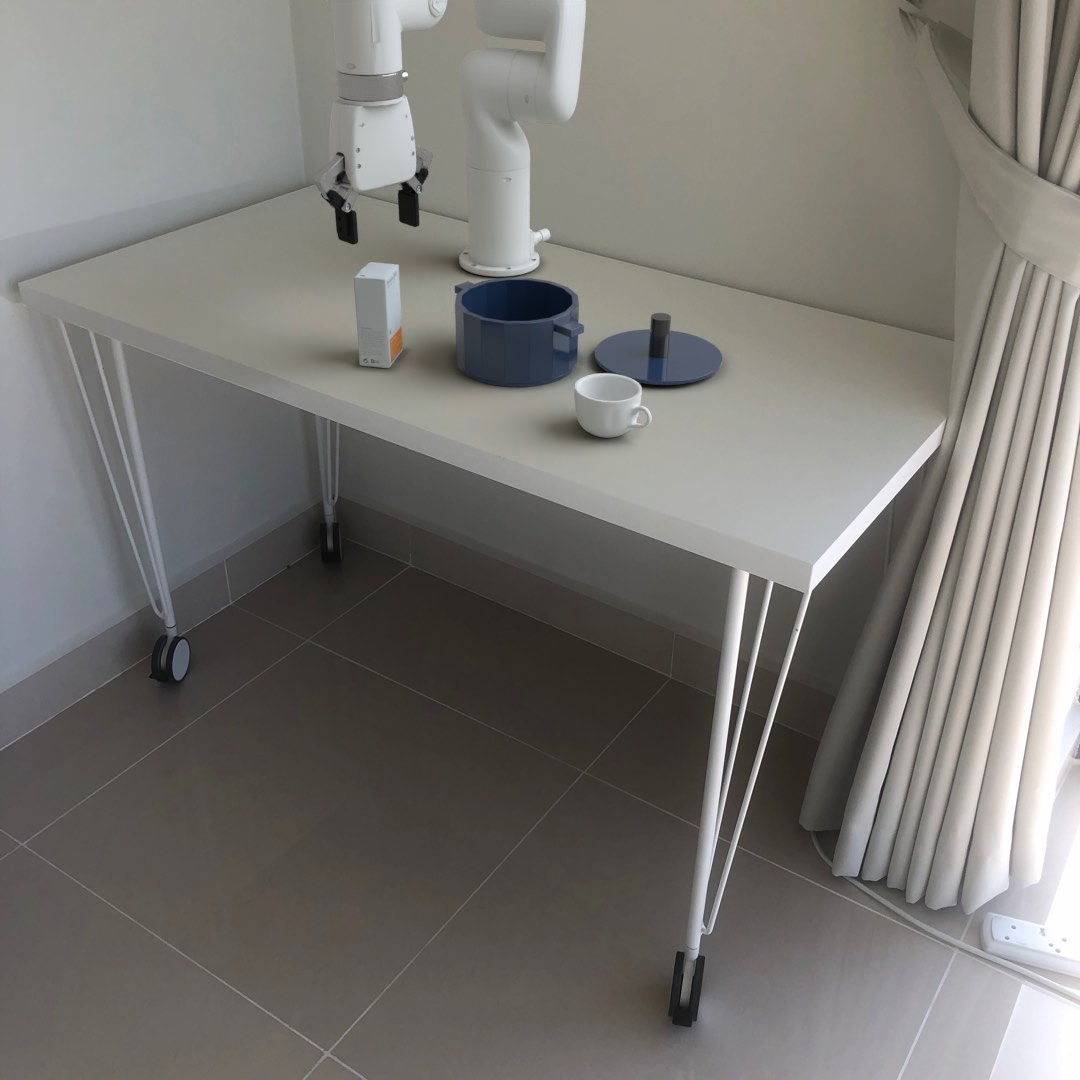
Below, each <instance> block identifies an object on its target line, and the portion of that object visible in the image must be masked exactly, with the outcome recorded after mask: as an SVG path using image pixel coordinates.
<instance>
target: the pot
mask: <svg viewBox="0 0 1080 1080" xmlns="http://www.w3.org/2000/svg"><path fill="white" fill-rule="evenodd" d="M454 293H455V294H456V295H455V299H454V300H455V301H454V315H455V316H454V318H455V347H456V348H455V350H456V352H455V353H456V364H457V366H458V368H459V370H460V371H461V372H462V373H463V375H466V376H467V377H468V378H471V379H472V380H475V381H478V382H481V383H483V384H487V385H492V386H498V387H508V388H526V387H527V388H528V387H536V386H543V385H547V384H551V383H554V382H557V381H560V380H562V379H564V378H566V377H567V376H569V375H570V374H572V373H573V372H574V370H575V369H576V367H577V365H578V354H579V353H578V351H579V350H578V349H579V335H581V334H584V333H585V324H582V323H579V319H580V318H579V317H580V316H579V315H580V308H579V307H580V301H579V295H578V294H577V293H575V292H574V290H572V289H571V288H570V287H568V286H565V285H563V284H560V283H557V282H555V281H552V280H547V279H539V278H533V277H499V278H494V279H488V280H487V279H486V280H481V281H479V282H476V283H473V282H471V281H468V280H467V281H465V282H461V283H458V284H456V285H454Z"/></svg>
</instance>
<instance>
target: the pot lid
mask: <svg viewBox="0 0 1080 1080" xmlns="http://www.w3.org/2000/svg"><path fill="white" fill-rule="evenodd" d="M649 322H650V324H649V328H646V329H634V330H627V331H623V332H619V333H615V334H613V335H610V336H608V337H606V338H604V339H603V340H601V341H600V342H599V343H598V344H597V346H596V347H595V349H594V359H595V362H596V363H597V365H598V366H599V367H600V368H601V369H602V370H604V371H605V372H606V373H610V374H618V375H623V376H626V377H629V378H631V379H633V380H635V381H637V382H638V383H639V384H646V385H655V386H656V385H657V386H674V385H684V384H691V383H694V382H698V381H702V380H705V379H707V378H709V377H711V376H713V375H714V374H717V372H718V371H719V370H720V369H721V367H722V364H723V354H722V352H721V350H720V349H719V348H718V347H717V346H716V344H713V343H712V342H710V341H708V340H707V339H704V338H702V337H700V336H697V335H694V334H691V333H688V332H687V333H686V332H682V331H677V330H672V329H671V326H672V316H671V315H670V314H669V313H665V312H656V313H655V312H654V313H652V314H651V315H650V321H649Z"/></svg>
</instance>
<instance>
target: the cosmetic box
mask: <svg viewBox="0 0 1080 1080" xmlns="http://www.w3.org/2000/svg"><path fill="white" fill-rule="evenodd" d="M353 289H354V302H355V318H356V330H357V346H358V360H359V362H358V363H359V366H362V367H372V368H380V369H381V368H382V369H391V367H392V365H393V364H394V363H395V361H396V360H397V358H399V356H400V355H401V354H402V353H403V351H404V347H403V345H404V344H403V326H402V325H403V324H402V323H403V322H402V302H401V282H400V265H399V264H398V263H397V264H396V263H394V264H393V263H384V262H374V261H369V262H368V263H367V264H365V266H364V267H362V268H361V269H359V271H358V272H357V274H356V275H355V276H354V277H353Z"/></svg>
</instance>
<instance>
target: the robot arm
mask: <svg viewBox="0 0 1080 1080" xmlns="http://www.w3.org/2000/svg"><path fill="white" fill-rule="evenodd" d="M324 1H325V5H326V7H327V10H328V11H329V13H330V14H331V18H332V30H333V44H334V57H335V58H334V59H335V69H336V85H337V96H338V97H337V98H338V99H335V100H333V101H332V104H331V110H330V117H329V118H330V119H329V129H328V130H329V133H328V135H329V136H328V137H329V139H328V147H329V148H328V153H329V155H328V156H329V157H328V158H329V162H327V164H325V165H324V166H323V167H322V168H321V169H320V170H319V171H318V172H317V173H316V174H315V175H314V177H313V182H314V184H315V186H316V187H317V189H318V191H319V192H320V196H321V198H322V199H324V200H325V201H326V202H327V203H328V204H329V207H330V208H333V209H334V215H335V218H334V219H335V228H336V230H335V231H336V234H337V239H338V240H339V241H342V242H345V243H347V244H349V245H353V246H354V245H357V244H358V242H359V231H358V230H359V229H358V215H357V212H356V210H353V207H354V205H355V203H356V201H357V199H358V197H359V196H360V193H366V192H371V191H375V190H379V189H383V188H387V187H388V188H389V187H392V186H395V185H399V187H400V189H398V190H397V205H398V206H397V207H398V219H399V220H398V221H399V222H400V223H401V224H404V225H406V226H410V227H413V228H417V227H420V201H419V199H420V198H419V194H421V193H422V192H423V189H424V186H423V185H424V184H425V181H426V180H427V178H428V177H429V169H430V167H431V164H432V161H433V157H434V154H433V152H432V151H430V150H428V149H426V148H424V147H422V146H420V145H418V144H416V140H415V131H414V124H413V118H412V112H411V108H410V104H409V100H408V96H407V95H405V94H404V93H405V92H404V83H407V82H408V80H409V74H408V72H407V70H405V69H403V49H402V32H403V33H405V32H424V31H426V30H429V29H432V28H433V27H435V26H436V25H437V24H438V23H439V22H440V21H441V19H442V18H443V16H444V14H445V12H446V9H447V5H448V0H324ZM586 13H587V0H473V15H474V21H475V25H476V27H477V28H478V29H479V31H481V33H483V34H485V35H488V36H489V37H495V38H502V39H509V40H510V39H511V40H522V41H535V42H543V43H544V47H545V51H536V50H523V49H517V48H516V49H515V48H504V47H483V48H482V47H481V48H478V49H475V50H473V51H470V52H469V53H468V54H467V55H466V56H465V57H464V58H462V61H461V63H460V65H459V68H458V74H457V88H458V95H459V100H460V104H461V109H462V114H463V122H464V129H465V130H464V131H465V145H466V179H467V181H466V182H467V183H466V184H467V185H466V186H467V221H468V223H467V224H468V226H467V227H468V228H467V230H468V248H467V249H466V248H465V250H463V251H462V252H461V253H460V254H459V256H458V260H459V261H458V264H459V266H460V267H461V268H462V269H463V270H465V271H467V272H468V273H471V274H475V275H477V276H478V275H479V276H482V277H483V276H484V277H495V278H496V277H497V278H506V277H515V276H521V275H525V274H528V273H530V272H532V271H534V270H536V269H537V268H538V267H539V265H540V263H541V262H540V255H539V253H538V252H537V251H536V250H535V247H537V245H538V244H542V243H544V242H547V241H549V240H550V239H551V232H550V230H549V229H548V228H545V227H544V228H541V229H538V230H536V231H533V230H532V228H531V149H530V145H529V141H528V139H527V136H526V135H525V132H524V130H523V129H522V127H521V126H520V124H519V122H524V123H533V124H546V125H561V124H564V123H566V122H568V121H569V120H570V119H571V118H572V116H573V115H574V113H575V110H576V107H577V103H578V99H579V91H580V83H581V71H582V59H583V50H584V41H585V40H584V39H585V29H586V28H585V27H586V16H587V14H586ZM333 185H334V186H336V187H335V189H334V186H333Z"/></svg>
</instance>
